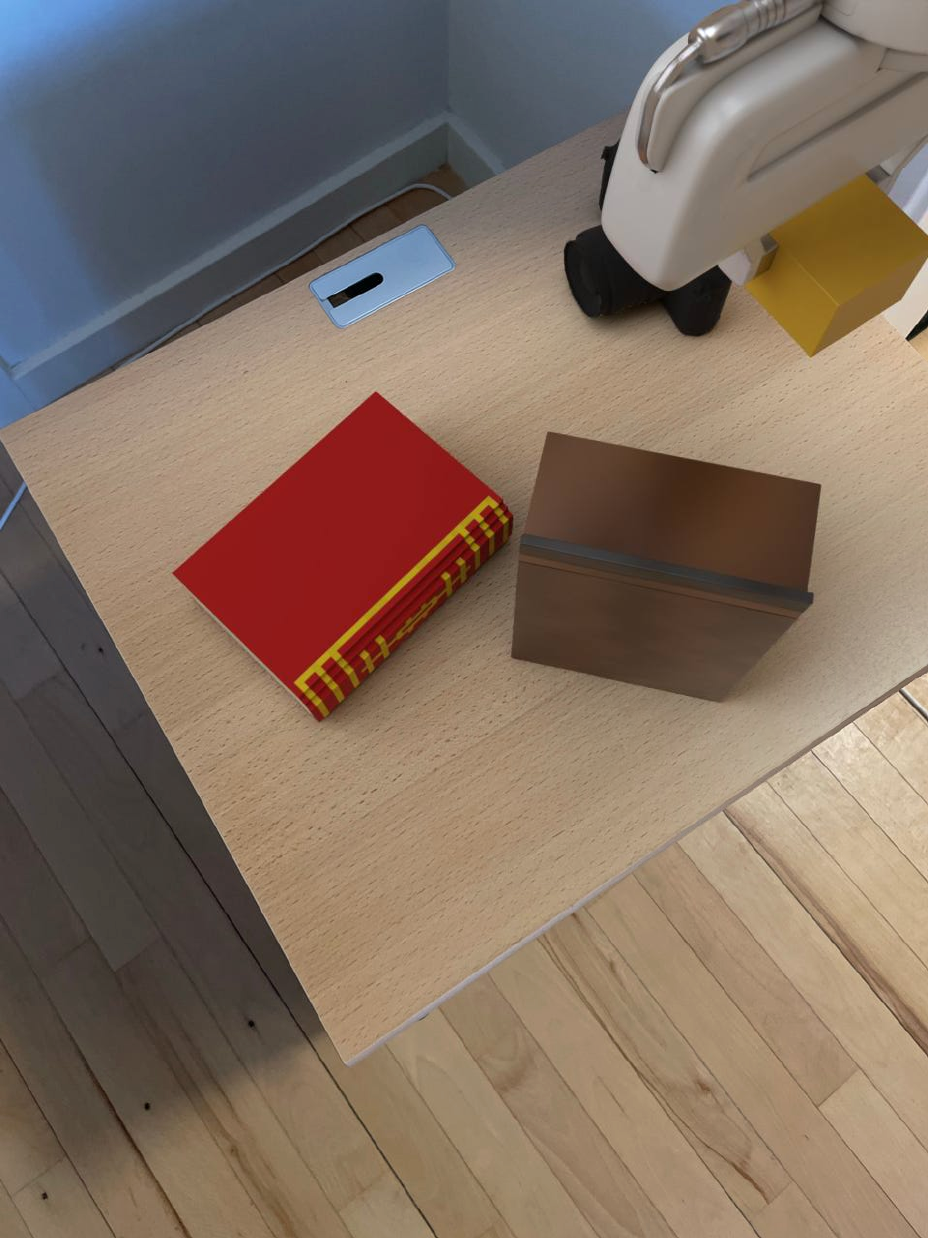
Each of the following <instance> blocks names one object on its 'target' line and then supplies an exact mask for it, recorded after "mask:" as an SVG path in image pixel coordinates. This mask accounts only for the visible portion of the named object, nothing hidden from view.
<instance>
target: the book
mask: <svg viewBox="0 0 928 1238" xmlns="http://www.w3.org/2000/svg"><path fill="white" fill-rule="evenodd" d="M513 526H514V513H512V512H511V511H510V510H509V506H508V505H507V504H505V502H504V498H502V497H501V496H500V495H499V494H497V493H496V492H495V491H494V490H493V489H492V488H491V487H489V486H488V485H487V484H486V483H485V482H484V481H482V480H481V479H480V478H479V477H477V476H476V475H475V474H474V473H473V472H472V471H471V470H469V469H468V468H467V467H466V466H465V465H463V463H461V462H460V461H459V460H458V459H456V458H455V457H454V456H453V455H452V454H450V453H449V452H448V451H447V450H446V449H445V448H444V447H443V446H441V445H440V444H439V443H438V442H436V441H435V439H433V438H431V436H429V434H427V433H426V432H425V431H424V430H422V429H421V428H420V427H419V426H418V425H416V424H415V422H413V421H412V420H411V419H409V417H407V416H406V415H405V414H404V413H402V411H400V410H399V409H398V408H397V407H396V406H394V405H393V404H392V403H391V402H389V401H388V399H386V398H385V397H384V396H383V395H382V394H381V393H379V391H376V390H375V391H374V392H373V393H372V394H371V395H369V396H368V397H366V399H365V400H364V401H363V402H361V403H360V404H359V405H358V406H357V407H356V408H355V409H354V410H352V412H350V414H349V413H348V415H346V417H345V418H344V419H342V420H341V421H340V422H339V423H338V424H337V425H336V426H334V428H332V429H331V430H330V431H329V432H328V433H326V435H325V436H323V437H322V438H321V439H320V440H319V441H318V442H316V444H314V445H313V446H312V447H311V448H310V449H309V450H308V451H307V452H305V453H304V454H303V455H302V456H301V457H300V458H299V459H298V460H296V461H295V462H294V463H293V464H292V465H291V466H290V467H289V468H288V469H286V470H285V471H284V472H283V473H281V475H279V477H277V478H276V479H275V480H274V481H273V482H272V483H271V484H270V485H268V486H267V487H266V488H265V489H264V490H263V491H262V492H260V494H259V495H257V497H255V498H253V500H251V502H249V504H247V505H246V506H245V507H244V508H243V509H242V510H240V511H239V512H238V513H237V514H236V515H235V516H234V517H233V518H232V519H231V520H229V521H228V522H227V523H226V524H225V525H224V526H223V527H222V528H221V529H219V530H218V531H217V532H216V533H215V534H214V535H212V537H210V538H209V539H208V540H207V541H206V542H205V543H204V544H203V545H201V546H200V547H199V548H198V549H197V550H196V551H195V552H194V553H192V555H190V556H189V557H188V558H187V559H186V560H184V561H183V563H181V564H180V565H178V567H176V568H175V569H174V571H172V572H171V574H172V575H173V576H174V578H176V580H178V581H179V583H180V584H181V585H182V586H183V587H184V589H185V590H186V591H187V592H188V593H189V595H190V596H191V598H192V599H193V600H194V601H195V603H196V604H198V606H199V607H201V608H202V610H204V611H205V612H206V613H207V614H208V615H209V617H211V618H212V620H214V621H215V623H217V624H218V626H220V627H221V628H222V629H223V630H224V631H225V632H226V633H227V634H228V635H229V636H230V637H231V638H232V639H233V640H234V641H235V642H236V643H237V644H238V645H239V646H240V647H241V648H242V649H243V650H244V651H245V652H246V653H247V654H248V655H249V656H250V657H251V658H252V659H253V660H254V661H255V662H256V663H257V664H258V665H259V666H260V667H262V669H263V670H264V671H265V672H267V674H268V675H269V676H270V677H272V679H274V680H275V681H276V683H277V684H279V686H281V687H282V688H283V690H285V691H286V693H288V695H289V696H291V697H292V698H293V699H294V700H295V701H296V702H297V703H298V704H299V706H301V707H302V708H303V709H304V710H305V711H306V712H307V713H308V714H309V716H311V717H312V718H314V720H316V721H317V722H318V723H319V724H320V723H321V722H322V721H323V720H324V719H325V718H326V717H327V716H328V715H329V714H330V713H331V712H332V711H334V710H335V708H336V707H337V706H339V705H340V703H341V702H342V701H344V700H345V699H346V698H347V697H348V696H349V695H350V694H351V693H352V692H353V691H354V690H355V689H356V688H357V687H358V686H359V685H360V684H361V683H362V682H363V681H364V680H365V679H366V678H367V677H368V676H369V675H370V674H371V673H372V672H373V671H374V670H376V668H377V667H378V666H380V665H381V663H382V662H383V661H385V659H386V658H387V657H388V656H389V655H390V654H391V653H393V651H395V649H397V648H398V647H399V646H400V645H401V644H402V643H403V642H404V641H405V640H406V639H407V638H408V637H409V636H410V635H411V634H412V633H413V632H414V631H415V630H416V629H417V628H419V626H420V625H421V624H422V623H423V622H424V621H425V620H427V619H428V617H429V616H430V615H431V614H433V612H434V611H436V610H437V609H438V607H440V606H441V605H442V604H443V603H444V602H445V601H446V600H447V599H448V598H449V597H450V596H451V595H452V594H453V593H454V592H455V591H456V590H457V589H458V588H459V587H460V586H462V584H463V583H464V582H465V581H467V579H468V578H470V576H471V575H473V574H474V572H476V570H478V568H479V567H481V565H483V563H485V561H487V559H489V558H490V557H491V556H492V555H493V554H494V552H496V551H497V550H498V549H499V548H500V547H501V546H502V545H503V544H504V543H505V542H506V541H507V540H508V539H509V538H510V537H511V536H512V535H513V530H514V529H513V528H514V527H513Z"/></svg>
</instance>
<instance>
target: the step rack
mask: <svg viewBox="0 0 928 1238" xmlns="http://www.w3.org/2000/svg"><path fill="white" fill-rule="evenodd" d="M517 562H518V563H517V572H516V573H517V574H516V575H517V576H516V587H515V588H516V589H515V600H514V601H515V602H514V613H513V625H512V627H513V628H512V639H511V640H512V641H511V651H510V654H511V655H510V658H511V659H517V660H521V661H524V662H530V663H534V664H537V665H538V664H539V665H542V666H543V665H544V666H548V667H553V668H556V669H557V668H558V669H562V670H566V671H571V672H576V673H580V674H584V675H585V674H586V675H589V676H595V677H599V678H603V679H607V680H612V681H617V682H622V683H627V684H631V685H635V686H641V687H644V688H649V689H654V690H659V691H664V692H667V693H668V692H669V693H673V694H677V695H681V696H682V695H683V696H686V697H691V698H696V699H700V700H705V701H710V702H715V703H719V704H721V703H722V702H723V701H724V700H725V699H726V698H727V697H728V696H729V695H730V694H731V693H732V691H733V690H735V688H736V687H737V686H738V685H739V684H740V683H741V682H742V680H744V678H746V676H747V675H748V674H749V673H750V672H751V671H752V670H753V669H754V668H755V666H756V665H757V664H758V663H759V662H760V661H761V660H762V659H763V658H764V657H765V655H767V654H768V653H769V651H770V650H771V649H772V648H773V647H774V646H775V645H776V644H777V643H778V642H779V641H780V639H781V638H782V637H783V636H784V635H785V634H786V633H787V632H788V631H789V630H790V629H791V628H792V626H793V625H794V624H796V622H797V621H798V620H799V618H795V617H790V616H785V615H780V614H775V613H770V612H766V611H761V610H756V609H751V608H746V607H741V606H737V605H732V604H727V603H722V602H717V601H712V600H708V599H703V598H698V597H693V596H688V595H683V594H679V593H674V592H669V591H664V590H659V589H654V588H650V587H645V586H640V585H635V584H630V583H625V582H621V581H616V580H611V579H606V578H601V577H596V576H592V575H587V574H582V573H577V572H572V571H567V570H563V569H558V568H553V567H548V566H543V565H538V564H534V563H529V562H524V561H520V560H519V559H518V561H517Z"/></svg>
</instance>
